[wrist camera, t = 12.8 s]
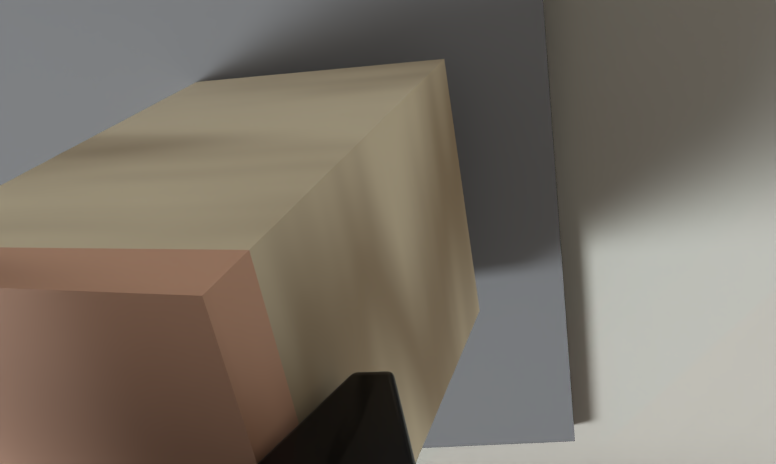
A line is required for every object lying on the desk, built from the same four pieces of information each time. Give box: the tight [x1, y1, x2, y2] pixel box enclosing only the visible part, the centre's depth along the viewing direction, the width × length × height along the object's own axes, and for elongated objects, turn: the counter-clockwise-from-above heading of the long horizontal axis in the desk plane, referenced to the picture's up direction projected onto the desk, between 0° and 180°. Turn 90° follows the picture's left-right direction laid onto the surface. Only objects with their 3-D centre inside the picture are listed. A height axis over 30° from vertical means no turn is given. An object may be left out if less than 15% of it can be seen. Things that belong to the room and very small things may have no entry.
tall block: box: [0, 59, 480, 464], centre depth 11 cm, size 5×5×8 cm
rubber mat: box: [0, 0, 575, 448], centre depth 15 cm, size 16×18×1 cm
